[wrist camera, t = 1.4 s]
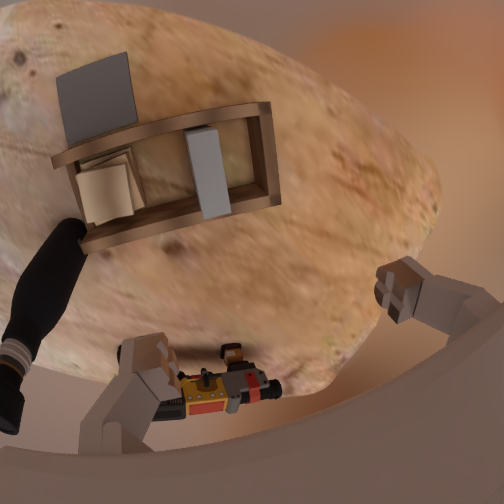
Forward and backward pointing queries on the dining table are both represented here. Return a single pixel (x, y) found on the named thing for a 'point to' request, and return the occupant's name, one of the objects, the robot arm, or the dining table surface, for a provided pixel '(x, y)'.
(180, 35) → the dining table surface
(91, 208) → the offcut top
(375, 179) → the dining table surface
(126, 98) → the flat gray square tile
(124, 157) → the block
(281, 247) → the dining table surface
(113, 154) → the offcut bottom
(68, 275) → the wine bottle
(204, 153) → the gray rectangular block
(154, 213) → the wooden box
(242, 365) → the toy gun
